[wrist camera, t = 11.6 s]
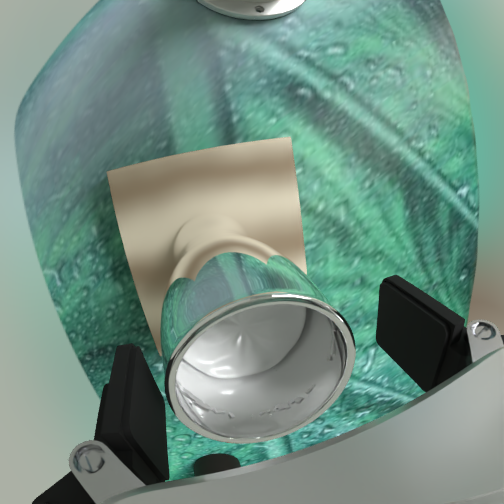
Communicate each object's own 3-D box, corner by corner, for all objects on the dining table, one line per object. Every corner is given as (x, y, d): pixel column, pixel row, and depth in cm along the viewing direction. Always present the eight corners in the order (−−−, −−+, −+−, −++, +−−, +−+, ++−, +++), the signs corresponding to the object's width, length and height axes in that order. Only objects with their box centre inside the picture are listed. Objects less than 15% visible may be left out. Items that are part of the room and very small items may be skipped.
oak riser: (114, 170, 22) (106, 171, 19) (278, 139, 25) (290, 136, 22) (160, 338, 27) (160, 356, 24) (298, 304, 30) (310, 318, 27)
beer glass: (166, 293, 23) (167, 452, 9) (167, 205, 21) (150, 287, 7) (252, 293, 25) (334, 431, 11) (260, 209, 23) (383, 284, 9)
